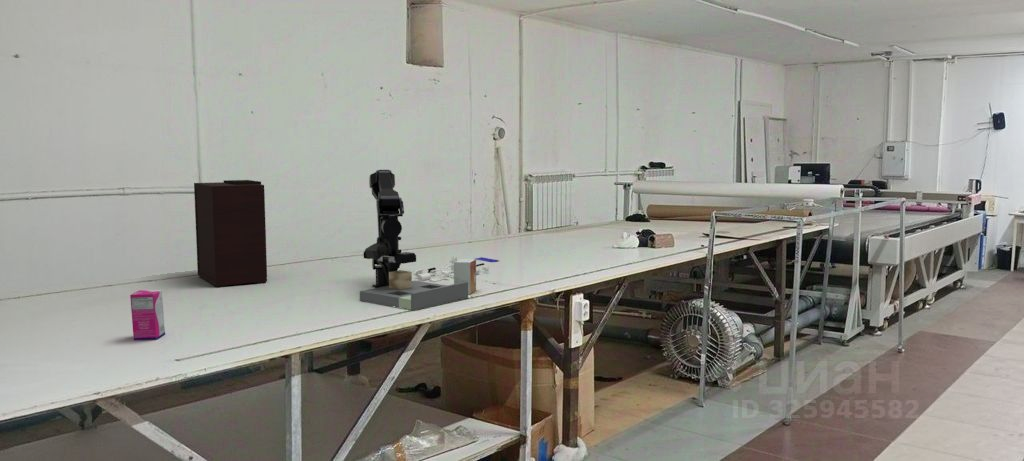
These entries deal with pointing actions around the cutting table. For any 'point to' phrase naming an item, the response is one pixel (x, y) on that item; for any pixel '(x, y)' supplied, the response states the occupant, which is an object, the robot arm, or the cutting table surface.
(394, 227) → the robot arm
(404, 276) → the maple block
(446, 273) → the miniature set
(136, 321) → the supplement box
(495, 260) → the booklet
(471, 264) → the small box
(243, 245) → the tall dark brown box
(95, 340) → the cutting table surface
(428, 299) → the board
